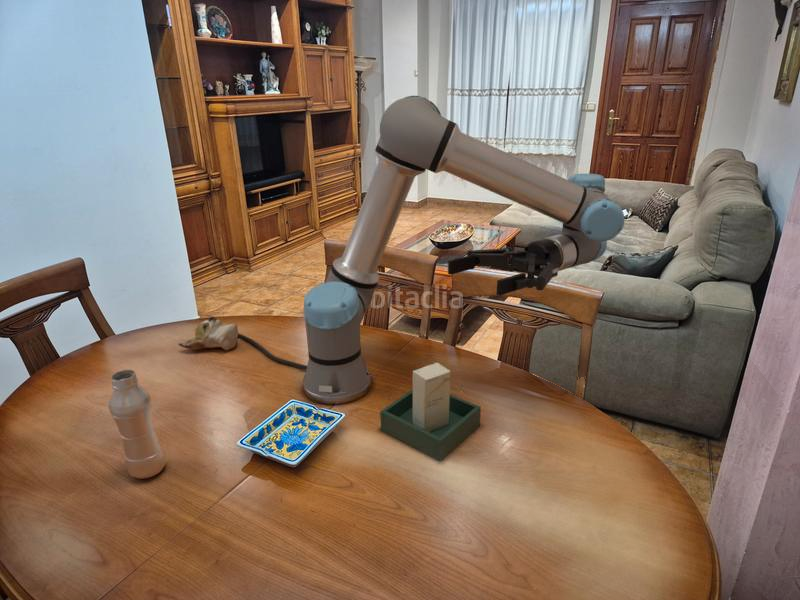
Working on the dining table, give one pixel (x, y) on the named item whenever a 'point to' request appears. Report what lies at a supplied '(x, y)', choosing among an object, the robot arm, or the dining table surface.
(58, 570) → the dining table surface
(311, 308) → the robot arm
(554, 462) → the dining table surface
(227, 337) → the ceramic sculpture
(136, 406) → the plastic bottle
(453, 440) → the tote
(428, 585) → the dining table surface
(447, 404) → the cosmetic box
